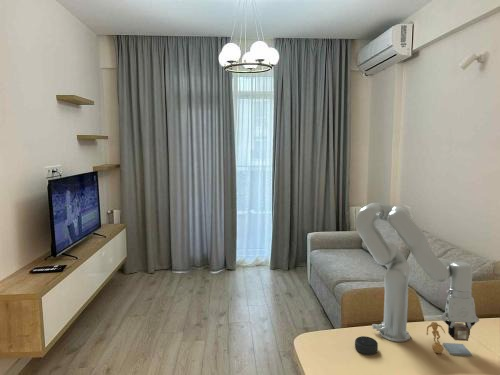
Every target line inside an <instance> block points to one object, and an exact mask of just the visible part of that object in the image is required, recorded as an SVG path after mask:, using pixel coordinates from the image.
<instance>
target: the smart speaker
mask: <svg viewBox="0 0 500 375" xmlns="http://www.w3.org/2000/svg"><path fill="white" fill-rule="evenodd" d="M378 346H379V344H378V342H377V340H375V339H374V338H373V337H369V336H366V335H365V336H358V337H357V338H355V340H354V348H355V350H356V351H357V352H359V353H360V354H362V355H375V354H376V353H377V352H378V349H379V348H378Z"/></svg>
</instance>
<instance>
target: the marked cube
mask: <svg viewBox="0 0 500 375" xmlns="http://www.w3.org/2000/svg"><path fill="white" fill-rule="evenodd" d="M453 328H454V338H452V339H453V340H454V341H463V342H464V341H465V342H468V341H469V338H468V333H469V329H468V328H467V327H466V326H465V323H462V322H455V323H454V326H453Z"/></svg>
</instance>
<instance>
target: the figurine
mask: <svg viewBox="0 0 500 375" xmlns="http://www.w3.org/2000/svg"><path fill="white" fill-rule="evenodd" d="M438 327H440V329H441V330H442V331H443V333H444V334H446V331H445V329H444V328H443V326H442V325H440V324H439V323H438V322H436V321H432V322H430V324H429V325H428V326H427V327H426V335H429V333H428V332H429V328H432V331H431V333H432V336H433V342H434V343H433V344H432V345H431V349H432V351H433V352H434V353H435V354H442V353H443V351H444V346H443V344H442V343H441V342H440V340H439V339H440V338H441V335H440V333H439V332H440V331H439V330H437V329H438ZM436 340H437V341H436Z"/></svg>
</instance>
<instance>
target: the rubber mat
mask: <svg viewBox="0 0 500 375" xmlns="http://www.w3.org/2000/svg"><path fill="white" fill-rule="evenodd" d="M442 346H443V348H444V349H445V350H446V351H447V353H448V354H449V355H451V356H467V357H472V356H473V353H471V351H470V350H469V349H468V348H467V347H466V345H464V344H463V343H455V342H452V343H451V342H442Z"/></svg>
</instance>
